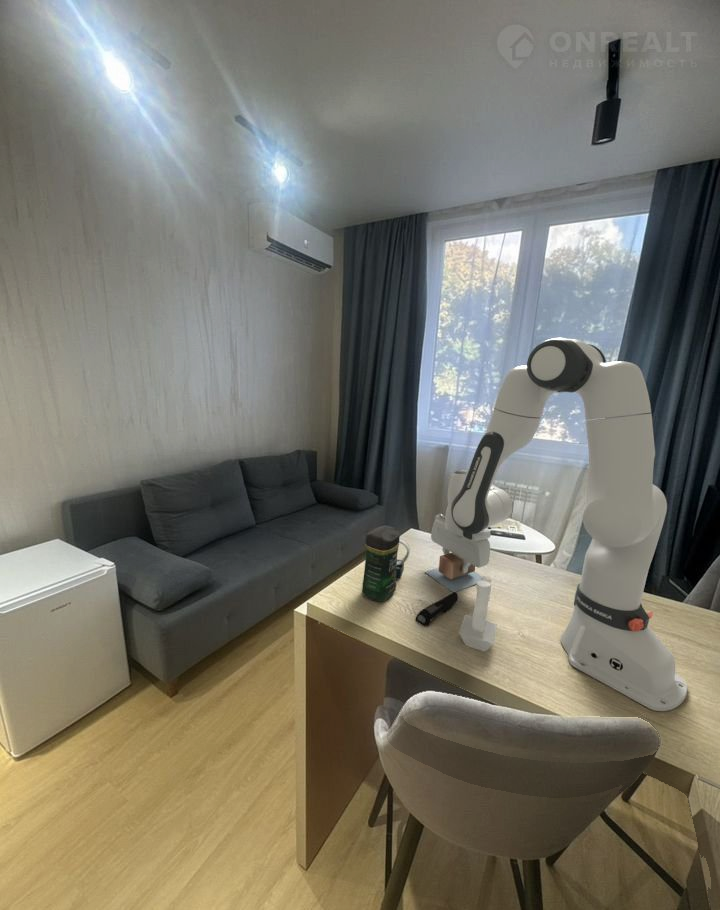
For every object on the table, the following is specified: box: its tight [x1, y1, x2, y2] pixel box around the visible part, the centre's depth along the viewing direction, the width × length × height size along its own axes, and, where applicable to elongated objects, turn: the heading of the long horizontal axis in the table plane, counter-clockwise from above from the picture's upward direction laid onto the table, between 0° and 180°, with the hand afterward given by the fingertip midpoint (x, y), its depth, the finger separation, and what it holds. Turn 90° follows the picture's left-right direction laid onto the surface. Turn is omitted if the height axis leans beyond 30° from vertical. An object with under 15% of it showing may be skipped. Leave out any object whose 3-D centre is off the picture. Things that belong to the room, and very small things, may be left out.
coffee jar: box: [361, 524, 401, 602], centre depth 100 cm, size 10×8×19 cm
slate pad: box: [424, 566, 483, 593], centre depth 112 cm, size 12×14×1 cm
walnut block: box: [438, 552, 476, 579], centre depth 112 cm, size 5×5×10 cm
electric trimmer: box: [415, 591, 459, 627], centre depth 95 cm, size 4×15×3 cm, turn 132°
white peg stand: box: [458, 575, 498, 653], centre depth 83 cm, size 7×9×15 cm
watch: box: [396, 537, 411, 580], centre depth 112 cm, size 6×8×11 cm
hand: (455, 566), depth 111 cm, fingers closed on walnut block, 5 cm apart
